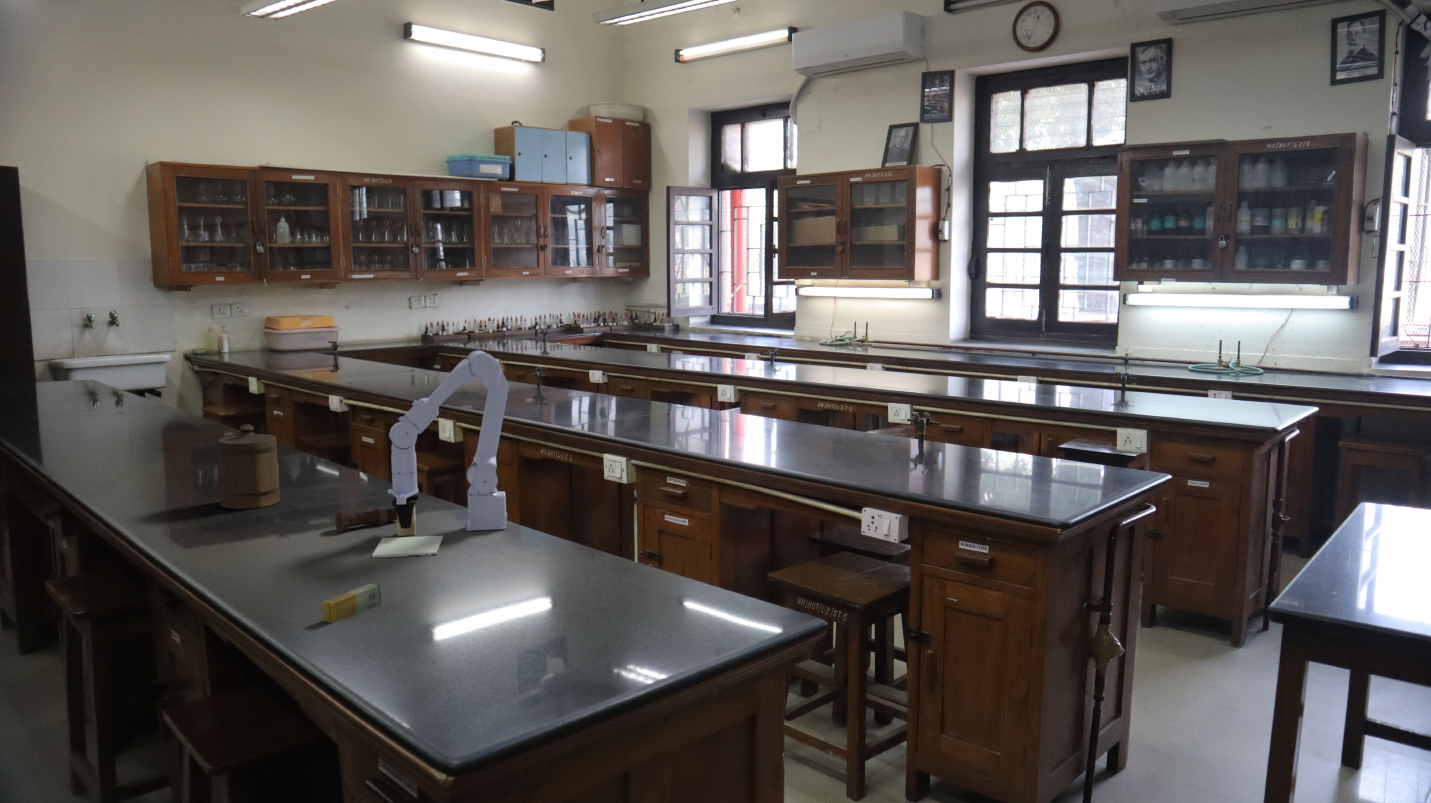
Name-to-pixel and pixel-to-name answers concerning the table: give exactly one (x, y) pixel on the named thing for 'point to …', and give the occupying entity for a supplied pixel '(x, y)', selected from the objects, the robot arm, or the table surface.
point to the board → (407, 546)
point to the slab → (407, 530)
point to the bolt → (364, 518)
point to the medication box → (351, 603)
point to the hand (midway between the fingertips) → (406, 526)
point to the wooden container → (248, 470)
